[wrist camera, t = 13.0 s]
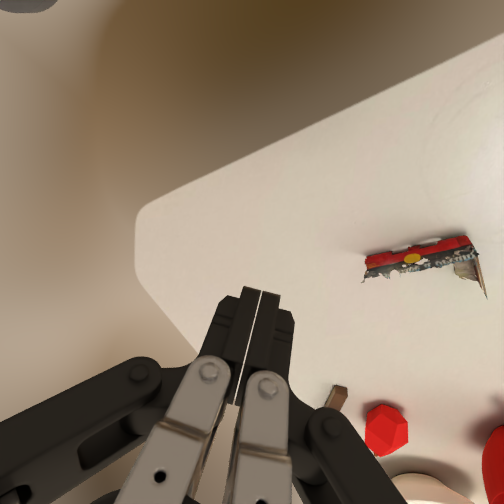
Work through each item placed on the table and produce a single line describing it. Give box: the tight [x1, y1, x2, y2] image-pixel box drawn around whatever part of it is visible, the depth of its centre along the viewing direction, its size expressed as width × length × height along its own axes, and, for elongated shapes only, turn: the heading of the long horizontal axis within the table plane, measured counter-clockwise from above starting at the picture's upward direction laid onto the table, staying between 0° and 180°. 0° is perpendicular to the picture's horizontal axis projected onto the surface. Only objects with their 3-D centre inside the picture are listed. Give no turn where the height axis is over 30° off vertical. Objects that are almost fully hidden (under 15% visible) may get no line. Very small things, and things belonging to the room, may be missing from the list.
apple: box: [365, 404, 408, 457], centre depth 56 cm, size 7×7×8 cm
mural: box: [362, 235, 488, 300], centre depth 40 cm, size 12×7×6 cm, turn 114°
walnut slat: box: [325, 385, 348, 411], centre depth 59 cm, size 10×2×2 cm, turn 171°
